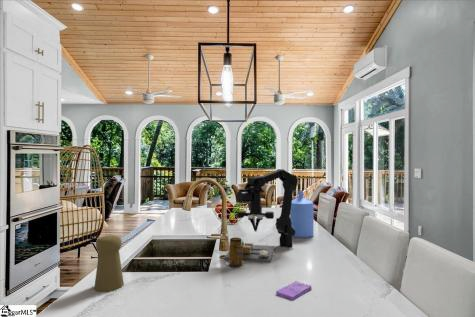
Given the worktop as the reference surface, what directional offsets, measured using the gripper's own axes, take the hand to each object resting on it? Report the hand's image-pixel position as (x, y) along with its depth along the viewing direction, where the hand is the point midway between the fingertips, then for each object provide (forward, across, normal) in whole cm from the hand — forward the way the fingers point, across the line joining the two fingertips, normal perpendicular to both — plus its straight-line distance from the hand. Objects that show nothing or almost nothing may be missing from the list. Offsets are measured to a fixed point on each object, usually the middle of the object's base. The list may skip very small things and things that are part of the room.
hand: (255, 231), depth 161 cm
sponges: (+12, -21, +45) cm, 51 cm away
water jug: (+11, -23, -42) cm, 49 cm away
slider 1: (+9, +4, 0) cm, 10 cm away
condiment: (+11, +6, +21) cm, 25 cm away
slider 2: (+9, +4, +7) cm, 12 cm away
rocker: (+8, +10, -4) cm, 13 cm away
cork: (+11, +49, +53) cm, 73 cm away
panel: (+11, +2, +3) cm, 12 cm away
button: (+8, -6, +12) cm, 16 cm away
